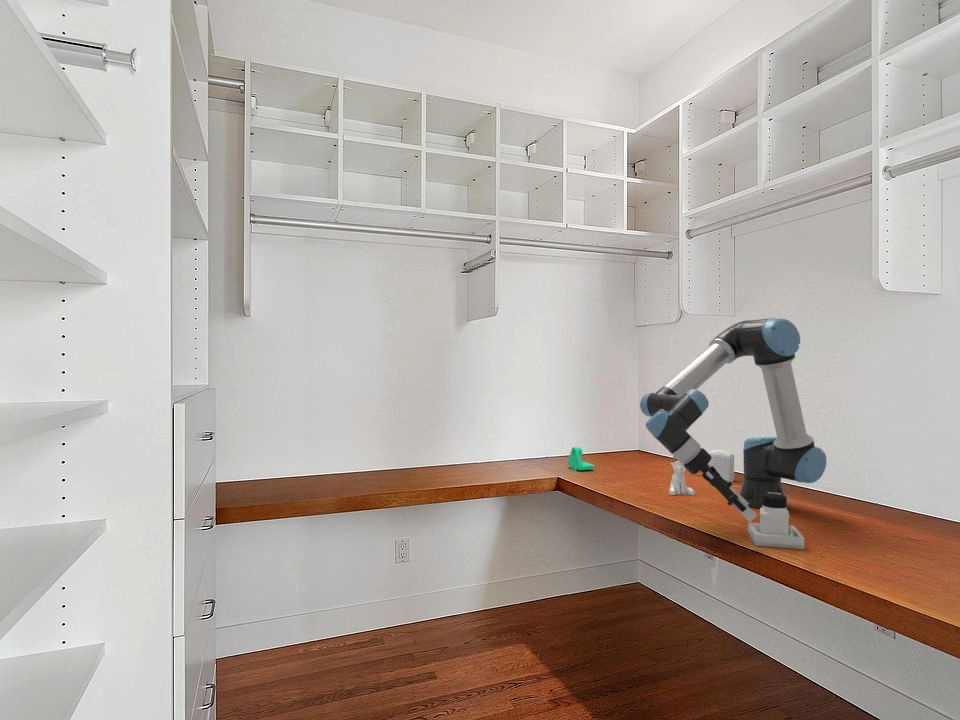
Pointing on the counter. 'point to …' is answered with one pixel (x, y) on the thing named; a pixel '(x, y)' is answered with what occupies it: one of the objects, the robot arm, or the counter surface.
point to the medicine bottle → (774, 515)
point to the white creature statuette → (679, 481)
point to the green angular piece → (578, 460)
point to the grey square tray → (776, 538)
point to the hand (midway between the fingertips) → (749, 512)
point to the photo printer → (723, 464)
